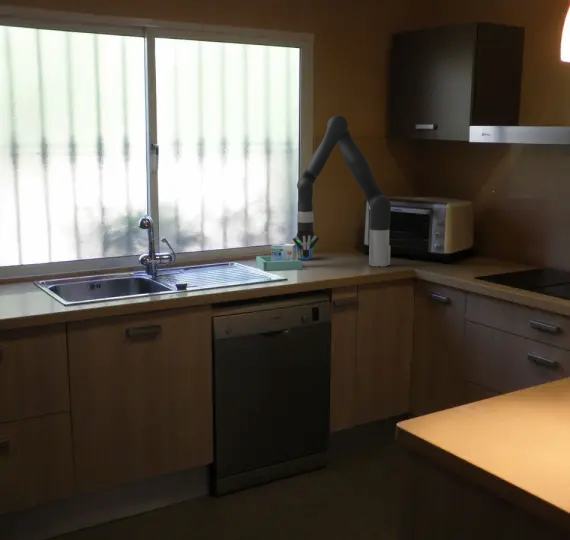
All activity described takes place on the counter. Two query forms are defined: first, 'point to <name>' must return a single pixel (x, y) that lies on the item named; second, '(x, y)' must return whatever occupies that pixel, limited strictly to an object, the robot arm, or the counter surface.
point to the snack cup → (300, 252)
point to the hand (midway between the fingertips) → (305, 257)
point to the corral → (277, 264)
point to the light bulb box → (283, 252)
